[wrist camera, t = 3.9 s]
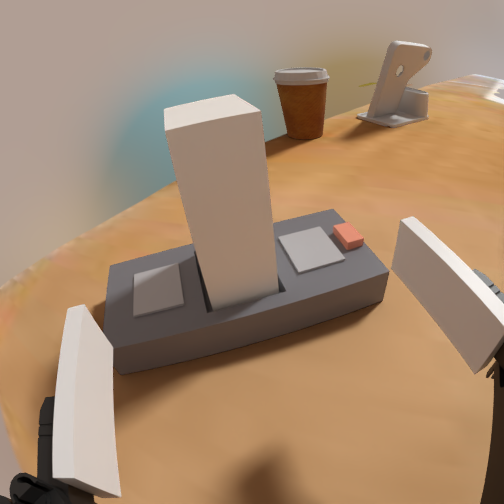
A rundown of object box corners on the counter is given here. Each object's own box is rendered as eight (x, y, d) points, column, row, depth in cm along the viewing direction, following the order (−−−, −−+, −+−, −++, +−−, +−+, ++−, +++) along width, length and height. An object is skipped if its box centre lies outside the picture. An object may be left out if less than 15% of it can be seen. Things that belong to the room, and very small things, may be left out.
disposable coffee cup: (336, 141, 50) (333, 72, 42) (279, 144, 51) (272, 74, 43) (327, 126, 57) (324, 66, 50) (278, 128, 58) (272, 69, 51)
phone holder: (397, 108, 68) (397, 40, 57) (431, 118, 61) (433, 46, 50) (354, 117, 61) (351, 37, 50) (393, 129, 54) (393, 40, 43)
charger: (255, 252, 27) (233, 93, 19) (279, 304, 22) (261, 110, 14) (203, 266, 26) (164, 108, 18) (216, 321, 21) (164, 130, 13)
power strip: (332, 235, 30) (333, 202, 27) (382, 300, 23) (391, 263, 20) (122, 290, 27) (107, 259, 25) (120, 374, 20) (96, 344, 18)
